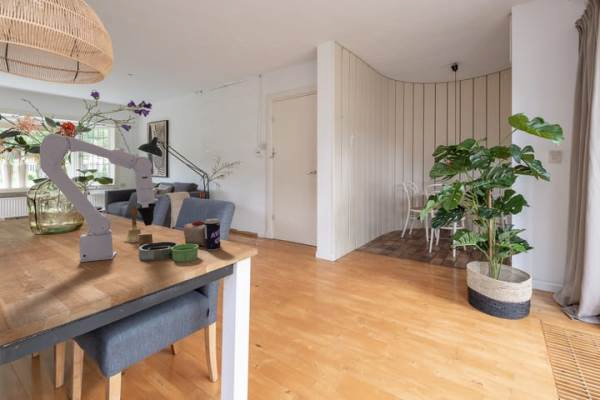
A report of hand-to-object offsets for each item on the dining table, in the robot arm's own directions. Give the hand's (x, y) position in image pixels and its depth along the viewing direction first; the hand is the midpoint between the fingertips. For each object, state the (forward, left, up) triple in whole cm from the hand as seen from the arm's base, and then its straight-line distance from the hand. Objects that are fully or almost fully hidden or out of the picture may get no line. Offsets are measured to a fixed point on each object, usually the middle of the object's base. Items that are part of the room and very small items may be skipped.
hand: (149, 223), depth 113 cm
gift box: (+19, +3, -11) cm, 22 cm away
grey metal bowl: (+4, -9, -11) cm, 14 cm away
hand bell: (-7, +20, -11) cm, 24 cm away
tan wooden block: (-1, 0, -11) cm, 11 cm away
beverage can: (+23, -9, -11) cm, 27 cm away
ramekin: (+12, -17, -11) cm, 24 cm away
